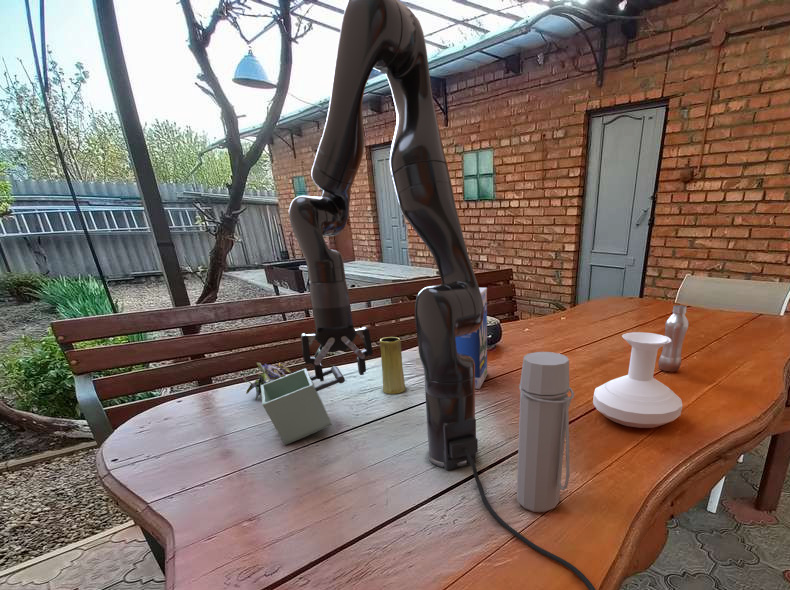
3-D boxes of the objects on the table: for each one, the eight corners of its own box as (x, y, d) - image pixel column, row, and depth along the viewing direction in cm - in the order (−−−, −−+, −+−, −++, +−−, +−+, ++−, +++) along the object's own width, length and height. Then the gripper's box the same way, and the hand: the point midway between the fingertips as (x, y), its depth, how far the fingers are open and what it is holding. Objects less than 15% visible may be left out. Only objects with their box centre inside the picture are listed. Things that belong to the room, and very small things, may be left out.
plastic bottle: (652, 368, 134) (663, 305, 126) (668, 366, 137) (679, 303, 129) (668, 375, 129) (680, 309, 121) (684, 372, 132) (697, 307, 124)
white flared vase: (605, 394, 114) (613, 323, 107) (684, 410, 105) (700, 334, 97) (579, 422, 98) (587, 341, 91) (670, 444, 89) (688, 356, 81)
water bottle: (505, 501, 71) (508, 358, 61) (535, 482, 76) (543, 347, 66) (549, 528, 65) (560, 373, 55) (578, 505, 70) (594, 360, 60)
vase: (408, 386, 119) (404, 336, 113) (402, 394, 114) (397, 342, 108) (387, 385, 120) (382, 336, 114) (380, 393, 114) (374, 342, 108)
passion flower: (291, 413, 115) (299, 385, 107) (246, 416, 108) (251, 387, 101) (284, 380, 120) (290, 352, 112) (240, 381, 113) (244, 351, 106)
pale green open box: (360, 413, 93) (342, 373, 88) (285, 445, 88) (262, 404, 83) (349, 394, 103) (333, 357, 98) (281, 422, 98) (260, 385, 93)
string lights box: (480, 389, 117) (479, 294, 107) (453, 388, 118) (450, 293, 108) (487, 373, 129) (487, 287, 119) (463, 372, 130) (461, 286, 120)
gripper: (296, 309, 82) (310, 388, 88) (370, 303, 88) (378, 376, 94) (292, 303, 88) (305, 377, 94) (361, 298, 94) (370, 367, 100)
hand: (342, 377), depth 94 cm, fingers open, 8 cm apart
